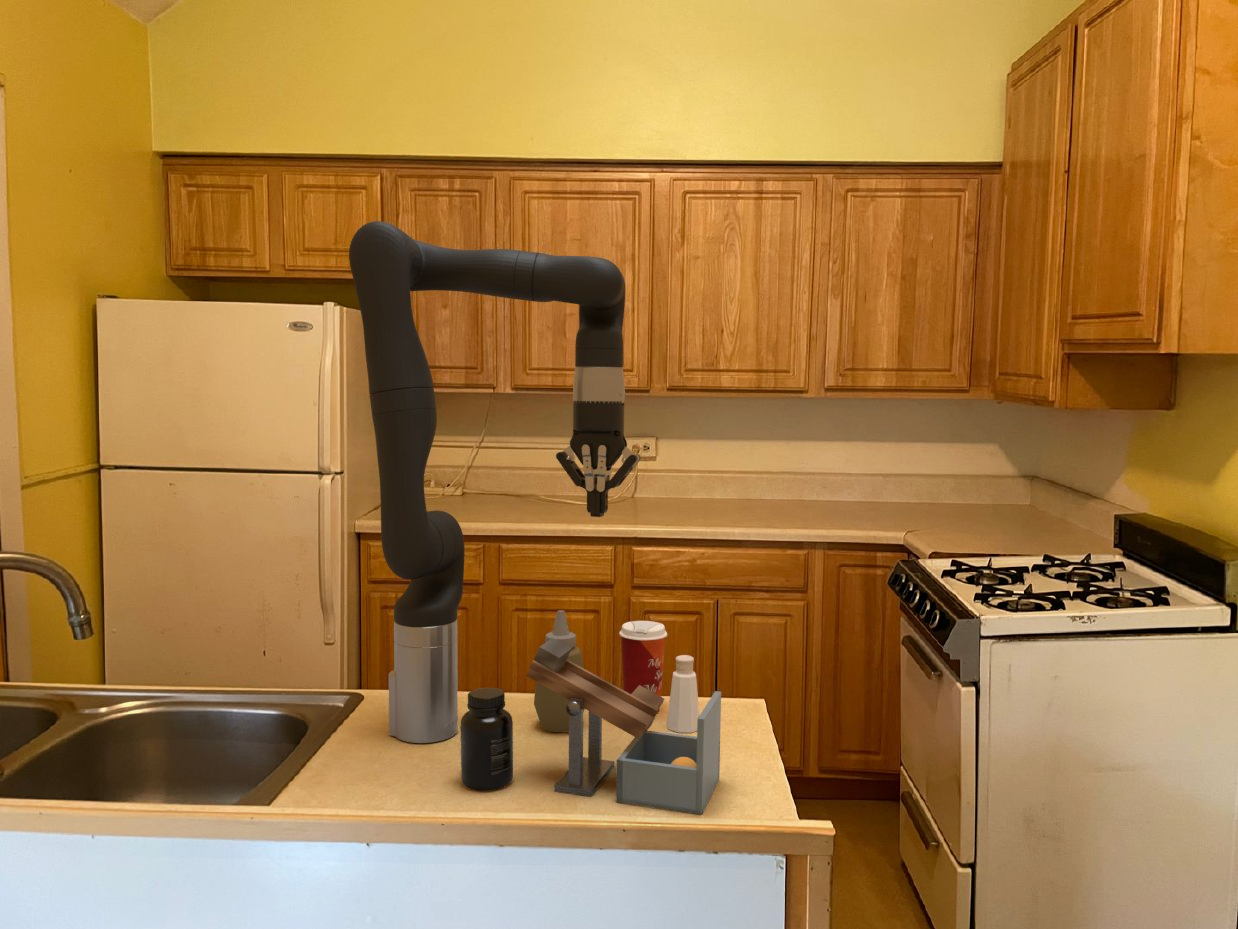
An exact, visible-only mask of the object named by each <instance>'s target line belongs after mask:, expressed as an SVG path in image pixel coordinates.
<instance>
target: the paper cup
mask: <svg viewBox="0 0 1238 929" xmlns="http://www.w3.org/2000/svg"><path fill="white" fill-rule="evenodd" d="M618 633H619V636H620V637H621V656H622V680H623V690H624V691H626V692H627V693H629V694H632V693H633V692H634V691H635V689H636V688H637V687H638V686H639V685H640V686H642V687H644V688H646V689H648V690H649V691H651V692H653V693H655V694H657V695H659V696H660V697H662V685H663V672H664V657H665V645H666V637H668V632H667V631H666V627H665V625H664V624H663V623H661V622H657V621H651V620H635V621H634V620H632V621H627V622H625V623H623V624H622V626H621V630H619V632H618ZM660 709H661V706H660V707H659V709H658V712H659V713H660ZM658 712H657V714H656V715H658V714H659V713H658Z"/></svg>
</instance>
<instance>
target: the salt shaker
mask: <svg viewBox="0 0 1238 929" xmlns="http://www.w3.org/2000/svg"><path fill="white" fill-rule="evenodd" d="M694 661H695V658H694V657H693V656H691V655H688V654H682V655H677V656H676V657H675V668H676V669H675V671H673V672H672V677H671V685H670V695H669V700H668V701H669V702H668V712H667V719H666V727H667V729H668V731H669V730H670V731H671V732H674V733H676V734H678V733H679V734H686V733H687V734H692V733H695V732H697V719H698V717H699V716H700V709H699V708H700V706H699V694H698V684H697V683H698V682H697V681H698V680H697V673H696V672H695V671H694Z"/></svg>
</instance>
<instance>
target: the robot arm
mask: <svg viewBox="0 0 1238 929" xmlns="http://www.w3.org/2000/svg"><path fill="white" fill-rule="evenodd" d="M348 249H349V250H348V260H349V262H348V263H349V268H350V270H351V275H352V279H353V280H352V281H353V284H354V287H355V292H356V297H357V300H358V306H359V310H360V315H361V320H362V329H363V343H364V352H365V361H366V362H365V363H366V373H367V379H368V380H367V381H368V392H369V402H370V409H371V418H372V424H373V429H374V436H375V444H376V445H375V446H376V457H377V466H378V476H379V490H380V491H379V492H380V494H379V496H380V498H379V499H380V536H381V538H380V539H381V547H382V552H383V557H384V560H385V562H386V565H387V567H388V568H389V569H390V571H391V572H392V573H393V574H394V575H395V576H397V577H398V578H400V579H403V580H409V583H408V586H407V587H406V589H405V591H404V592H403V593H402V595H401V596H400V597H398V599H397V600H396V601H395V603H394V606H393V641H394V643H393V648H394V649H393V651H394V653H393V655H394V657H393V658H394V660H393V661H394V662H393V663H394V665H393V667H394V668H393V670H391V671H390V672H389V673H388V735H389V736H393V737H396V738H397V739H398V740H400V741H403V742H407V743H414V744H415V743H416V744H430V743H437V742H441V741H445V740H448V739H450V738H452V737H453V736H455V735H456V734H457V732H458V720H459V717H458V610H459V606H460V604H461V601H462V597H463V594H464V593H463V592H464V575H465V574H464V573H465V556H466V555H465V554H466V550H465V539H464V538H465V537H464V535H463V531H462V530H463V529H462V528H461V525H460V523H459V522H458V520H457V519H456V517H454V516H453V515H452V514H450V513H449V512H447V511H443V510H437V509H436V510H428V511H427V503H426V497H425V473H426V468H427V464H428V460H429V456H430V453H431V450H432V447H433V443H434V439H435V436H436V431H437V430H436V429H437V426H438V425H437V424H438V415H437V414H438V413H437V405H436V404H437V403H436V395H435V389H434V382H433V377H432V372H431V368H430V365H429V362H428V358H427V356H426V353H425V349H424V347H423V344H422V341H421V339H420V336H419V333H418V331H417V327H416V323H415V320H414V315H413V308H412V299H411V298H412V297H411V296H412V295H411V294H412V293H411V292H424V291H425V292H426V291H427V292H429V291H445V292H462V293H470V294H476V295H485V296H491V297H495V298H496V297H498V298H505V299H511V300H519V301H526V302H527V301H528V302H536V303H552V302H560V303H566V304H573V305H578V329H577V333H576V336H575V344H574V346H575V347H574V349H575V350H574V352H575V353H574V355H575V358H574V360H575V361H574V362H575V364H574V366H575V367H574V374H573V375H574V376H573V382H572V383H573V384H572V385H573V387H572V388H573V389H572V435H571V438H570V440H569V446H567V447H566V448H565V449H563V450H562V451H559V452H557V453H556V454H555V458H556V460H557V461H558V463H559V464H560V465H561V467H562V468H563V470H564V471H565V472H566V474H567V475H568V477H569V478H570V480H571V481H572V483H574V486H576V487H580V488H582V489H584V490H585V492H586V511H587V513H590V517H592V518H593V517H594V518H602V517H604V515H605V513H607V512H608V509H609V491H610V490H611V489H615V488H618V487H620V486H621V485H622V484H623V482H624V481H625V480H626V479H627V477H628V476H629V475H630V473H631V472H632V471H633V469H634V468H635V467H636V466H637V465H638V463H639V462H640V461H641V455H640V454H638V453H635V452H633V451H632V449H630V448H629V447H628V442H627V440H626V439H627V438H625V434H624V433H625V398H626V389H625V386H626V385H625V384H626V383H625V376H624V374H625V373H624V336H623V326H624V316H625V307H626V304H625V303H626V281H625V277H624V275H623V273H622V271H621V270H620V268H619V267H618V266H617V265H616V264H615V263H614V262H613V261H612V260H609V259H607V258H603V257H597V256H587V255H553V254H548V253H543V252H536V251H527V250H526V251H525V250H521V249H519V250H517V249H507V248H505V249H504V248H488V249H487V248H486V249H457V248H451V247H444V246H439V245H438V246H437V245H434V244H432V243H427V242H424V241H420V240H418V239H415V238H414V239H413V238H412V236H410V235H409V234H407V233H406V232H404V231H403V230H402V229H401V228H400V227H399V228H398V226H395V225H394V224H392V223H388V222H385V221H380V220H379V221H378V220H374V221H369V222H367V223H365V224H363V225H362V226H361V227H359V228H358V229H357V231H356V232H355V233H354V234H353V237H352V239H351V241H350V244H349V248H348ZM621 456H622V457H621ZM620 457H621V459H620ZM576 458H577V460H578V462H580V464H581V465H582V466H583V471H582V470H581V468H580V467H579V466H578V464H577V463H576V461H575V460H576ZM618 460H621V463H622V464H621V466H620V467H619V469H618V470H616V472H615V473H614V475H613V476H612V477H611V475H612V472H613V467H614V466H615V465H616V463H617V462H618Z"/></svg>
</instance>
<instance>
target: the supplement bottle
mask: <svg viewBox="0 0 1238 929" xmlns="http://www.w3.org/2000/svg"><path fill="white" fill-rule="evenodd" d="M505 699H506V698H505V691H504V690H503V689H501V688H495V687H480V688H475V689H471V690H470V691H469V692H468V693H467V704H466V705H467V710H468V711H467V712H465V713H463V715H462V717H461V719H460V724H459V725H460V727H459V728H460V768H461V770H460V774H461V783H462V784H463V786H464V787H466V788H467V789H469V790H471V791H477V792H490V791H491V792H492V791H497V790H500V789H504V788H505V787H507V786H508V785H510V784H511V782H512V781H513V779H514V735H513V734H514V730H513V729H514V728H513V727H514V726H513V725H514V724H513V717H512V715H511V713H510V712H509V711H508V710H506V709H505V707H506V701H505Z"/></svg>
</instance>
